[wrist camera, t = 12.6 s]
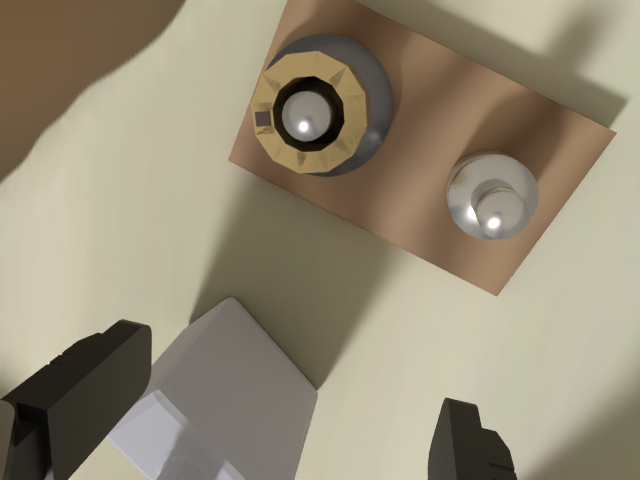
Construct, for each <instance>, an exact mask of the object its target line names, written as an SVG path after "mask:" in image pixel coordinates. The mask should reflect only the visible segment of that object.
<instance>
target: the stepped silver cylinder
mask: <svg viewBox="0 0 640 480" xmlns="http://www.w3.org/2000/svg"><path fill="white" fill-rule="evenodd" d="M445 195H446V199H447V203H448V206H449V210H450V213H451V216H452V218H453V220H454V221H455V223H456V224H457V225H458V226H459V228H460V229H462V230H463V231H464V232H466V233H467V234H469V235H471V236H473V237H476V238H480V239H486V240H494V239H509V238H513V237H515V236H517V235H518V234H520V233H521V232H522V231H523V230H524V229H525V228H526V226H527V224H528V222H529V221H530V220H531V218H532V217H533V215H534V213H535V211H536V208H537V205H538V200H539V191H538V186H537V182H536V180H535V178H534V176H533V175H532V173H531V172H530V171H529V170H528V169H527V168H526V167H525V166H524V165H522V164H521V163H520V162H519V161H518V160H516V159H515V158H514V157H513V156H511V155H509V154H508V153H506V152H503V151H500V150H494V149H484V150H478V151H475V152H472V153H470V154H468V155H466V156H464V157H463V158H462V159H460V160H459V161H458V162H457V163H456V164H455V165H454V166H453V168H452V169H451V171H450V173H449V175H448V177H447V180H446V185H445Z"/></svg>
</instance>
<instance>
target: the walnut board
mask: <svg viewBox="0 0 640 480" xmlns="http://www.w3.org/2000/svg"><path fill="white" fill-rule="evenodd" d="M315 34H335V35H339V36H343V37H346V38H349V39H351V40H354V41H355V42H357V43H359V44H360V45H362V46H364V47H365V48H366V49H368V50H369V51H370V52H371V53H372V54H373V55H374V56H375V57H376V58H377V59H378V61H379V62H380V64H381V65H382V66H383V68H384V70H385V72H386V74H387V76H388V79H389V81H390V84H391V88H392V93H393V116H392V122H391V125H390V129H389V132H388V134H387V136H386V138H385V141H384V142H383V144H382V146H381V147H380V149H379V150H378V151H377V152H376V154H375V155H374V156H373V157H372V158H371V159H370V160H369V161H368V162H366V163H365V164H364V165H362V166H361V167H359V168H357V169H356V170H354V171H351V172H349V173H346V174H343V175H339V176H332V177H319V176H312V175H309V174H305V173H297V172H295V171H293V170H291V169H289V168H287V167H285V166H283V165H281V164H279V163H278V162H276V161H274V160H272V158H271V157H270V156H269V154H268V153H267V151H266V150H265V148H264V147H263V146H262V144H261V143H260V141H259V140H258V138H257V137H256V136H255V131H254V123H253V116H252V108H251V102H252V100H253V97H254V94H255V92H256V89H257V86H258V83H259V81H260V78H261V75H262V74H263V73H264V72H265V71H266V69H267V67H268V66H269V64H270V62H271V61H272V60H273V59H274V57H275V56H276V55H277V54H278V53H279V52H280V51H281V50H282V49H283V48H285V47H286V46H288V45H289V44H290V43H292V42H294V41H296V40H298V39H300V38H303V37H306V36H309V35H315ZM616 134H617V133H616V132H614V131H612V130H610V129H608V128H606V127H604V126H602V125H600V124H598V123H596V122H594V121H592V120H590V119H588V118H586V117H584V116H582V115H580V114H578V113H576V112H574V111H572V110H570V109H568V108H566V107H564V106H562V105H560V104H558V103H556V102H554V101H552V100H550V99H548V98H546V97H544V96H542V95H540V94H538V93H536V92H534V91H532V90H530V89H528V88H526V87H524V86H522V85H520V84H518V83H516V82H514V81H512V80H510V79H508V78H506V77H504V76H502V75H500V74H498V73H496V72H494V71H492V70H490V69H488V68H486V67H484V66H482V65H480V64H478V63H476V62H474V61H472V60H470V59H468V58H466V57H464V56H462V55H460V54H458V53H456V52H454V51H452V50H450V49H448V48H446V47H444V46H442V45H440V44H438V43H436V42H434V41H432V40H430V39H428V38H426V37H424V36H422V35H420V34H418V33H416V32H414V31H412V30H410V29H408V28H406V27H404V26H402V25H400V24H398V23H396V22H394V21H392V20H390V19H388V18H386V17H384V16H382V15H380V14H378V13H376V12H374V11H372V10H370V9H368V8H366V7H364V6H362V5H360V4H358V3H356V2H354V1H352V0H288V1H287V4H286V6H285V9H284V12H283V14H282V17H281V20H280V23H279V25H278V28H277V31H276V33H275V36H274V39H273V41H272V44H271V47H270V49H269V52H268V55H267V57H266V60H265V63H264V65H263V68H262V71H261V74H260V76H259V79H258V82H257V84H256V87H255V90H254V92H253V95H252V98H251V100H250V103H249V106H248V108H247V111H246V114H245V117H244V119H243V122H242V125H241V127H240V130H239V133H238V135H237V138H236V141H235V143H234V146H233V149H232V151H231V154H230V157H229V159H228V161H230V162H232V163H234V164H236V165H238V166H240V167H242V168H244V169H246V170H248V171H250V172H252V173H254V174H256V175H258V176H260V177H262V178H264V179H266V180H268V181H270V182H272V183H274V184H275V185H277V186H279V187H281V188H283V189H285V190H287V191H289V192H291V193H293V194H295V195H297V196H299V197H301V198H303V199H305V200H307V201H309V202H311V203H313V204H315V205H317V206H319V207H321V208H323V209H325V210H327V211H329V212H331V213H333V214H335V215H337V216H339V217H341V218H343V219H345V220H347V221H349V222H351V223H353V224H355V225H357V226H359V227H361V228H363V229H365V230H366V231H368V232H370V233H372V234H374V235H376V236H378V237H380V238H382V239H384V240H386V241H388V242H390V243H392V244H394V245H396V246H398V247H400V248H402V249H404V250H406V251H408V252H410V253H412V254H414V255H416V256H418V257H420V258H422V259H424V260H426V261H428V262H430V263H432V264H434V265H436V266H438V267H440V268H442V269H444V270H446V271H448V272H450V273H452V274H454V275H455V276H457V277H459V278H461V279H463V280H465V281H467V282H469V283H471V284H473V285H475V286H477V287H479V288H481V289H483V290H485V291H487V292H489V293H491V294H493V295H495V296H498V295H499V293H500V292H501V290H502V289H503V288H504V286H505V285H506V284H507V282H508V281H509V280H510V278H511V277H512V275H513V274H514V273H515V271H516V270H517V269H518V267H519V266H520V265H521V263H522V262H523V260H524V259H525V258H526V256H527V255H528V254H529V252H530V251H531V250H532V248H533V247H534V245H535V244H536V243H537V241H538V240H539V239H540V237H541V236H542V235H543V233H544V232H545V230H546V229H547V228H548V226H549V225H550V224H551V222H552V221H553V219H554V218H555V217H556V215H557V214H558V213H559V211H560V210H561V209H562V207H563V206H564V204H565V203H566V202H567V200H568V199H569V198H570V196H571V195H572V194H573V192H574V191H575V189H576V188H577V187H578V185H579V184H580V183H581V181H582V180H583V179H584V177H585V176H586V174H587V173H588V172H589V170H590V169H591V168H592V166H593V165H594V164H595V162H596V161H597V159H598V158H599V157H600V155H601V154H602V153H603V151H604V150H605V149H606V147H607V146H608V144H609V143H610V142H611V140H612V139H613V138H614V136H615V135H616ZM484 149H494V150H500V151H503V152H506V153H508V154H509V155H511V156H513V157H514V158H515V159H516V160H518V161H519V162H520V163H521V164H522V165H524V166H525V167H526V168H527V169H528V170H529V171H530V172H531V173H532V175H533V176H534V178H535V180H536V182H537V186H538V191H539V200H538V205H537V208H536V211H535V213H534V215H533V217H532V218H531V220H530V221H529V222H528V224H527V226H526V228H525V229H524V230H523V231H522V232H521V233H520V234H518V235H517V236H515V237H513V238H509V239H494V240H486V239H480V238H476V237H473V236H471V235H469V234H467V233H466V232H464V231H463V230H462V229H460V228H459V226H458V225H457V224H456V223H455V221H454V220H453V218H452V216H451V213H450V210H449V206H448V203H447V199H446V195H445V185H446V180H447V177H448V175H449V173H450V171H451V169H452V168H453V166H454V165H455V164H456V163H457V162H458V161H459V160H460V159H462V158H463V157H464V156H466V155H468V154H470V153H472V152H475V151H478V150H484Z"/></svg>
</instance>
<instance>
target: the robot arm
mask: <svg viewBox="0 0 640 480" xmlns="http://www.w3.org/2000/svg"><path fill="white" fill-rule="evenodd" d="M151 351H152V332H151V328H150V326H148V325H145V324H140V323H136V322H132V321H128V320H124V319H122V320H119V321H118V322H116V323H115V324H114V325H113V326H111V327H110V328H109V329H108V330H106V331H105V332H104V333H103V334H101V333H96V334H94V335H91V336H89V337H86V338H84V339H81V340H79V341H77V342H76V343H75V344H73V345H72V346H71V347H69V348H68V349H67V350H65V351H64V352H63V354H62V355H59V356H57V357H56V358H55V359H53V360H52V361H51V362H50V364H49V365H45V366H44V367H43V368H41V369H40V370H39V371H37V372H36V373H35V374H33V375H32V376H31V377H29V378H28V379H27V380H25V381H24V382H23V383H22V384H20V385H19V386H18V387H16V388H15V389H14V390H12V391H11V392H10V393H8V394H7V395H6V396H4V397H3V398H2V399H0V480H68V479H69V478H70V477H71V476H72V474H73V473H74V472H75V471H76V470H77V469H78V468H79V466H80V465H81V464H82V463H83V462H84V461H85V460H86V459H87V457H88V456H89V455H90V454H91V453H92V452H93V451H94V449H95V448H96V447H97V446H98V445H99V444H100V443H101V442H102V440H103V439H104V438H105V437H106V436H107V435H108V434H109V432H110V431H111V430H112V429H113V428H114V427H115V426H116V425H117V423H118V422H119V421H120V420H121V419H122V418H123V417H124V415H125V414H126V413H127V412H128V411H129V410H130V409H131V408H132V406H133V405H134V404H135V403H136V402H137V401H138V400H139V398H140V397H141V396H142V395H143V394H144V392H145V390H146V388H147V386H148V384H149V381H150V377H151ZM428 480H517V477H516V473H514V465H513V462H512V458H511V454H510V450H509V449H508V447H507V446H506V444H505V443H504V442H503V440H502V439H501V437H500V436H499V435H498V433H497V432H496V431H492V430H488V429H484V428H482V427H481V422H480V417H479V412H478V407H477V405H475V404H471V403H467V402H463V401H459V400H454V399H450V398H445V399H444V402H443V404H442V408H441V411H440V415H439V418H438V422H437V425H436V429H435V432H434V436H433V439H432V443H431V447H430V452H429V459H428Z"/></svg>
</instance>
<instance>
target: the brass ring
mask: <svg viewBox="0 0 640 480" xmlns="http://www.w3.org/2000/svg"><path fill="white" fill-rule="evenodd" d="M313 76H315V77H317V78H319V79H321V80H323V81H325V82H327V83H329V84H331V85H332V86H333V87H334V89H335V90H336V92H337V93H338V95H339V96H340V98H341V99H342V101H343V106H344V121H345V123H344V125H343V127H342V129H341V131H340V134H339V136H338V138H337V139H335V140H334V141H332V142H331V143H327V144H311V143H309V142H307V141H301V140H298V139H296V138H294V137H292V136H291V135H290V134H289V133H288V132H287V130H286V129H285V127H284V124H283V120H282V111H283V107H284V105H285V103H286V101H287V100H288V98H289V96H290V93H291V91H292V88H293V87H294V86H296V85H297V84H298V83H300V82H301V81H302V80H304V79H305V78H306V77H313ZM251 108H252V116H253V123H254V131H255V136H256V137H257V138H258V140H259V141H260V143H261V144H262V146H263V147H264V148H265V150H266V151H267V153H268V154H269V156H270V157H271V158H272V160H274V161H276V162H278V163H279V164H281V165H283V166H285V167H287V168H289V169H291V170H293V171H295V172H297V173H316V172H329V171H330V170H332V169H333V168H335V167H336V166H338V165H339V164H341V163H342V162H344V161H345V160H347V159H348V158H350V157H351V156H353V155H354V153H355V152H356V150H357V149H358V147H359V145H360V143H361V141H362V139H363V137H364V135H365V133H366V131H367V129H368V127H369V125H370V123H371V105H370V91H369V90H368V88H367V86H366V85H365V83H364V82H363V80H362V78H361V77H360V75H359V74H358V72H357V71H356V69H355V67H354V66H352V65H350V64H348V63H346V62H344V61H342V60H340V59H338V58H336V57H334V56H332V55H330V54H328V53H325V52H320V51H313V52H304V53H295V54H286V55H285V56H284V57H283V58H281V59H280V60H279V61H278V62H276V63H275V64H274V65H273V66H271V67H270V68H269V69H268V70H267V71H265V72H264V73H263V74H262V75H261V78H260V81H259V83H258V86H257V89H256V92H255V94H254V97H253V100H252V102H251Z"/></svg>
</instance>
